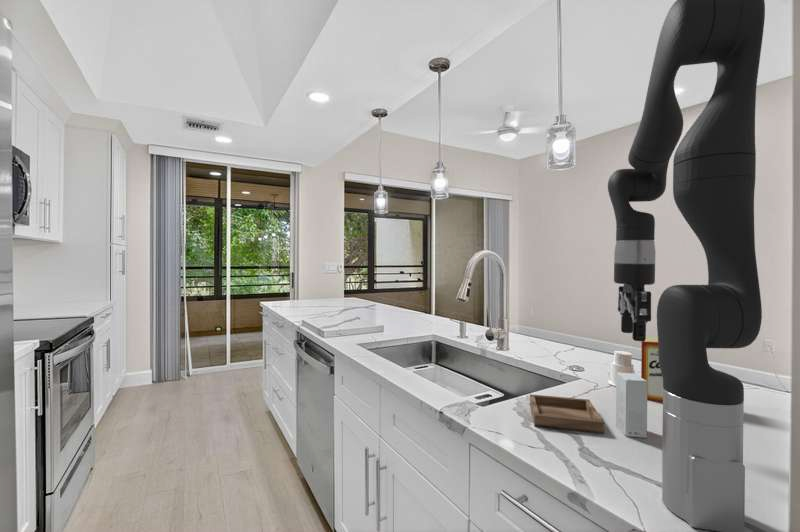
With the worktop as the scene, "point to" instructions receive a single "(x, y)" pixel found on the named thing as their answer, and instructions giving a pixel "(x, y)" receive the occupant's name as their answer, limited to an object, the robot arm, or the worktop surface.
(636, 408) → the skincare box
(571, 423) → the tray
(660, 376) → the baking soda box
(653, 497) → the worktop surface
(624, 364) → the downlight
